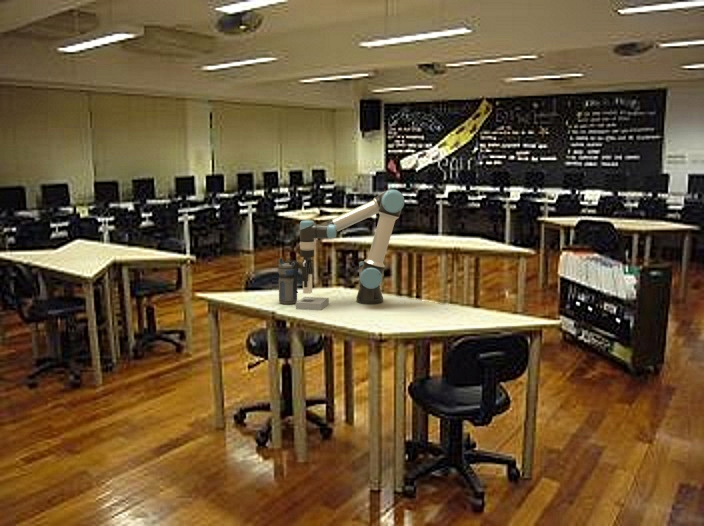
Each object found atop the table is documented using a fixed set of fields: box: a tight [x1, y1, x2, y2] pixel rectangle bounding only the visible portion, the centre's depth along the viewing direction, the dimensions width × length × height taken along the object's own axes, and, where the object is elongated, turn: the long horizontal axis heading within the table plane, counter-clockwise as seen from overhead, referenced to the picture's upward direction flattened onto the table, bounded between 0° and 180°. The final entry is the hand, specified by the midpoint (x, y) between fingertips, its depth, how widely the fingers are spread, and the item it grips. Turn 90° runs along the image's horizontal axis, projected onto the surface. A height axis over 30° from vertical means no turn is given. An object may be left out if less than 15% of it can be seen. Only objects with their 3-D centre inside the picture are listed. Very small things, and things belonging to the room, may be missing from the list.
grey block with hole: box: [295, 296, 330, 311], centre depth 339 cm, size 14×16×4 cm
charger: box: [302, 274, 313, 294], centre depth 336 cm, size 4×4×10 cm
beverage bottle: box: [277, 257, 300, 305], centre depth 347 cm, size 10×13×25 cm
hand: (307, 292), depth 337 cm, fingers closed on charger, 4 cm apart
